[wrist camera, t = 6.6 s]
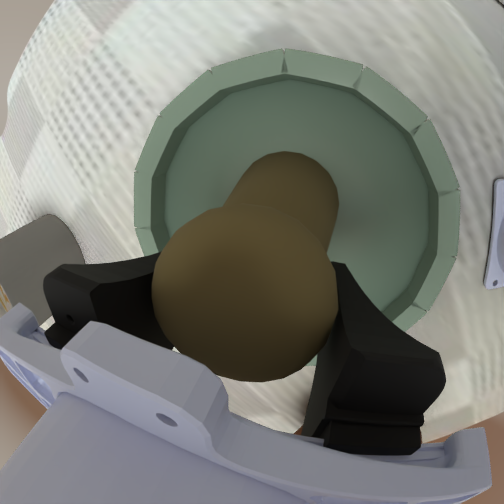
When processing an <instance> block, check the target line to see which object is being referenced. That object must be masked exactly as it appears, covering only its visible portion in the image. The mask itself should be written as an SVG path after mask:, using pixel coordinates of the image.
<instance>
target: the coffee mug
mask: <svg viewBox="0 0 504 504" xmlns="http://www.w3.org/2000/svg"><path fill="white" fill-rule="evenodd" d="M62 264H85V261H84V258H83V255H82V252H81V250H80V247H79V245H78V243H77V241H76V239H75V238H74V236H73V234H72V233H71V231H70V230H69V228H68V227H67V226H66V225H65V224H64V223H63V222H62V221H61V220H60V219H59V218H57V217H56V216H54V215H50V214H47V215H44V216H42V217H40V218H38V219H36V220H34V221H32V222H30V223H29V224H27V225H25V226H23V227H21V228H19V229H17V230H16V231H14V232H12V233H10V234H8V235H7V236H5V237H3V238H2V239H0V318H1V317H2V316H3V315H4V314H6V313H7V312H8V311H9V310H10V309H12V308H13V307H14V306H15V305H17V304H18V303H22V304H23V305H24V306H26V307H27V308H28V309H30V310H31V311H32V312H33V314H34V315H35V317H36V319H37V321H38V324H39V326H40V325H42V324H43V323H44V322H45V321H46V320H47V319H48V318H50V317H51V316H52V313H51V310H50V308H49V305H48V303H47V300H46V298H45V294H44V290H43V280H44V277H45V276H46V275H47V274H49V273H50V272H51V271H53V270H54V269H56V268H57V267H59V266H60V265H62Z"/></svg>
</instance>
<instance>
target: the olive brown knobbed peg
mask: <svg viewBox="0 0 504 504" xmlns="http://www.w3.org/2000/svg"><path fill="white" fill-rule="evenodd" d="M338 208H339V198H338V192H337V187H336V185H335V183H334V181H333V179H332V177H331V175H330V174H329V172H328V171H327V170H326V169H325V168H324V167H323V166H322V165H321V164H320V163H318V162H317V161H316V160H314V159H312V158H310V157H308V156H306V155H304V154H302V153H296V152H288V151H281V152H276V153H271V154H267V155H265V156H263V157H262V158H260V159H258V160H256V161H255V162H253V163H252V164H251V166H250V167H249V168H248V169H247V170H246V171H245V172H244V174H243V175H242V177H241V178H240V180H239V181H238V183H237V184H236V186H235V187H234V189H233V190H232V192H231V194H230V195H229V197H228V198H227V200H226V202H225V203H224V205H223V206H222V207H219V208H214V209H209V210H207V211H205V212H203V213H202V214H200V215H198V216H197V217H195V218H194V219H192V220H190V221H189V222H187V223H186V224H184V225H183V226H182V227H180V228H179V229H178V230H177V231H176V232H175V233H174V234H173V236H172V237H171V239H170V240H169V241H168V243H167V244H166V246H165V247H164V249H163V250H162V252H161V254H160V256H159V257H158V259H157V261H156V264H155V269H154V274H153V279H152V303H153V308H154V313H155V317H156V319H157V321H158V323H159V325H160V327H161V329H162V331H163V333H164V335H165V336H166V337H167V339H168V340H169V341H170V342H171V343H172V344H173V345H174V347H175V348H176V349H177V350H178V351H179V352H180V353H181V354H183V355H186V356H188V357H190V358H192V359H194V360H196V361H198V362H200V363H202V364H204V365H205V366H207V367H208V368H209V369H210V370H211V371H212V372H213V373H214V374H216V375H218V376H222V377H226V378H230V379H233V380H237V381H246V382H267V381H272V380H277V379H282V378H285V377H287V376H289V375H291V374H293V373H295V372H297V371H299V370H301V369H302V368H303V367H304V366H306V365H307V364H308V363H309V362H310V361H311V360H312V359H313V358H314V357H315V356H316V355H317V354H318V353H319V352H320V350H321V349H322V348H323V347H324V346H325V345H326V343H327V340H328V338H329V335H330V333H331V330H332V327H333V324H334V321H335V318H336V315H337V312H338V294H337V283H336V274H335V270H334V268H333V266H332V264H331V262H330V260H329V258H328V256H327V251H328V247H329V244H330V241H331V237H332V234H333V230H334V226H335V223H336V219H337V214H338Z"/></svg>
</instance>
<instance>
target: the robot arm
mask: <svg viewBox="0 0 504 504" xmlns="http://www.w3.org/2000/svg"><path fill="white" fill-rule="evenodd" d="M161 252H162V251H161ZM161 252H158V253H155V254H152V255H148V256H145V257H140V258H136V259H131V260H126V261H119V262H113V263H103V264H62V265H60V266H59V267H57V268H56V269H54V270H53V271H51V272H50V273H49V274H47V275H46V276H45V277H44V280H43V290H44V294H45V298H46V300H47V303H48V305H49V308H50V310H51V313H52V315H53V318H54V320H55V323H54V324H53V325H52V326H51V327H50V328H49V329H47V330H46V331H45V330H43V329H42V328H41V327H39V324H38V321H37V319H36V317H35V315H34V314H33V312H32V311H31V310H30V309H28V308H27V307H26V306H24V305H23V304H22V303H18V304H17V305H15V306H14V307H13V308H12V309H10V310H9V311H8V312H7V313H6V314H4V315H3V316H2V317H1V318H0V357H1V359H2V360H3V362H4V363H5V364H6V366H7V368H8V369H9V371H10V372H11V373H12V374H13V375H14V376H15V377H16V378H17V379H18V380H19V381H20V382H21V383H22V384H23V385H24V386H25V387H26V388H27V390H28V391H29V392H30V393H31V394H33V395H34V397H35V398H36V399H38V400H39V401H40V402H41V403H42V404H43V405H44V406H45V407H46V408H47V409H48V410H47V411H46V412H45V414H44V415H43V416H42V417H41V418H40V420H39V421H38V422H37V423H36V425H35V426H34V427H33V429H32V430H31V431H30V432H29V434H28V435H27V436H26V437H25V439H24V440H23V441H22V442H21V444H20V445H19V446H18V448H17V449H16V450H15V452H14V453H13V454H12V456H11V457H10V458H9V460H8V461H7V462H6V464H5V465H4V466H3V468H2V469H1V471H0V504H460V503H462V502H464V501H466V500H468V499H470V498H472V497H474V496H476V495H478V494H480V493H482V492H483V491H485V490H487V489H489V488H490V487H491V486H492V478H491V468H490V459H489V452H488V446H487V440H486V434H485V429H484V428H483V427H480V428H472V429H464V430H460V431H457V432H455V433H454V434H452V435H451V436H450V437H449V438H448V439H447V440H446V441H445V442H441V443H426V444H421V436H420V427H421V426H422V425H423V424H424V415H423V413H424V412H425V411H426V410H427V409H428V408H429V407H430V405H431V404H432V403H433V402H434V401H435V400H436V399H437V398H438V396H439V395H440V394H441V392H442V391H443V389H444V387H445V383H446V376H445V371H444V368H443V364H442V360H441V357H440V354H439V352H437V351H435V350H433V349H431V348H429V347H428V346H426V345H424V344H422V343H420V342H419V341H417V340H416V339H414V338H413V337H411V336H410V335H408V334H407V333H405V332H404V331H403V330H401V329H400V328H399V327H397V326H396V325H395V324H394V323H393V322H391V321H390V320H389V319H388V318H387V317H386V316H385V315H384V314H383V313H382V312H381V311H380V310H379V309H378V308H377V307H376V306H375V305H374V304H373V303H372V302H371V300H370V299H369V298H368V297H367V295H366V294H365V293H364V291H363V290H362V289H361V287H360V286H359V284H358V283H357V282H356V280H355V279H354V277H353V275H352V274H351V272H350V271H349V269H348V267H347V266H346V264H344V263H339V262H334V261H331V264H332V266H333V268H334V270H335V274H336V283H337V294H338V312H337V315H336V318H335V321H334V324H333V327H332V330H331V333H330V335H329V338H328V340H327V343H326V345H325V346H324V347H323V348H322V349H321V350H320V352H319V353H318V354H317V362H316V370H315V375H314V380H313V385H312V390H311V395H310V399H309V404H308V408H307V412H306V416H305V420H304V424H303V428H302V432H301V435H296V434H290V433H285V432H280V431H276V430H272V429H270V428H267V427H265V426H262V425H260V424H257V423H255V422H253V421H250V420H248V419H246V418H243V417H241V416H239V415H237V414H234V413H232V412H230V411H229V409H228V394H227V392H226V389H225V387H224V385H223V382H222V381H221V379H220V378H219V377H218V376H216V375H215V374H214V373H213V372H212V371H211V370H210V369H209V368H208V367H207V366H205V365H204V364H202V363H200V362H198V361H196V360H194V359H192V358H190V357H188V356H186V355H183V354H181V353H178V352H175V351H172V349H173V347H174V345H173V344H172V343H171V342H170V341H169V340H168V339H167V337H166V336H165V335H164V333H163V331H162V329H161V327H160V325H159V323H158V321H157V319H156V317H155V313H154V308H153V303H152V279H153V274H154V269H155V264H156V261H157V259H158V257H159V256H160V254H161ZM495 280H496V281H495ZM494 281H495V282H494ZM493 282H494V283H493ZM484 286H485V288H486V289H494V288H500V287H504V179H497V180H496V181H495V183H494V206H493V222H492V233H491V242H490V249H489V256H488V263H487V268H486V274H485V279H484Z"/></svg>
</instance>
